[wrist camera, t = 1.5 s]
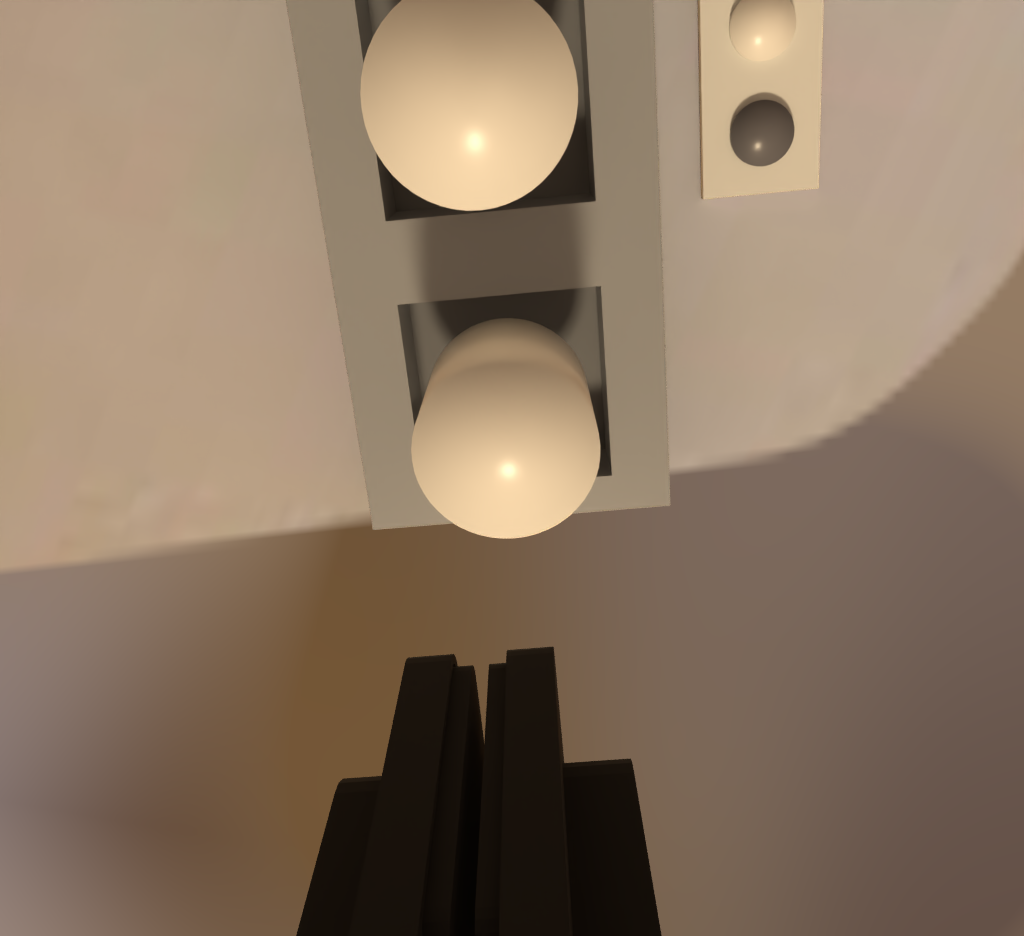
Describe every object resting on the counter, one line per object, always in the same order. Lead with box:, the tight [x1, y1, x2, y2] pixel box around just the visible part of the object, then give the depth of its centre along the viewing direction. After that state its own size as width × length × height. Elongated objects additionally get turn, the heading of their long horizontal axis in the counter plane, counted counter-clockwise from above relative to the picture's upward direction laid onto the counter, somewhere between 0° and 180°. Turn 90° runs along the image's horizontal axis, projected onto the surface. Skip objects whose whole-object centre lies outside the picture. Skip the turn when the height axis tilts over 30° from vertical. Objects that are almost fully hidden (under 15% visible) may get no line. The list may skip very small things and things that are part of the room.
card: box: [698, 0, 824, 199], centre depth 23 cm, size 8×3×1 cm, turn 5°
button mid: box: [360, 0, 578, 211], centre depth 19 cm, size 4×4×4 cm
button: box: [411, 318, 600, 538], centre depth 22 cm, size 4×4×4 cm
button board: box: [286, 0, 670, 530], centre depth 22 cm, size 21×8×3 cm, turn 5°
